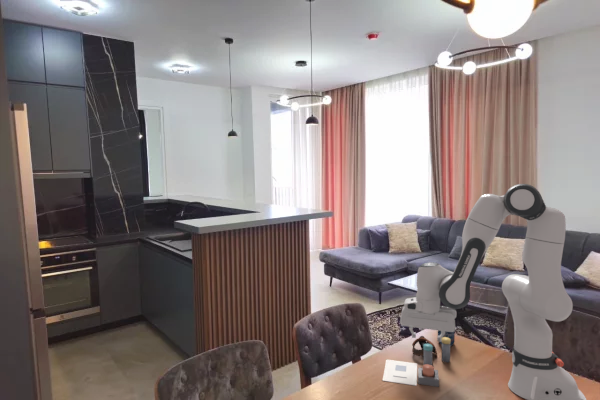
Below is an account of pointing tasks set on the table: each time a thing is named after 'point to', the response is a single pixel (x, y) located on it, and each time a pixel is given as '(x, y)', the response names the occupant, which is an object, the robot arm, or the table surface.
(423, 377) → the button housing
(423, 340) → the pottery mug
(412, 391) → the table surface
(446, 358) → the marker ochre
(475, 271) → the robot arm
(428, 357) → the marker teal
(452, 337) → the soda can
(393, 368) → the paper
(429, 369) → the button
